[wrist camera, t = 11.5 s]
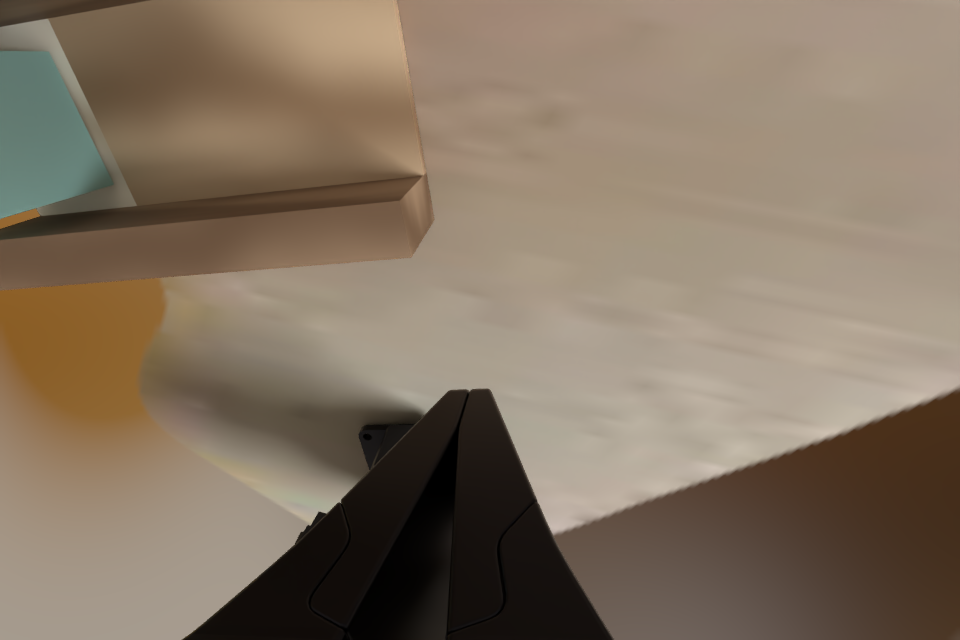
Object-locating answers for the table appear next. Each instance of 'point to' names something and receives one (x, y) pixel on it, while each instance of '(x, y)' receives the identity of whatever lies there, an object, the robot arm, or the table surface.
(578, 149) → the table surface
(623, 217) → the table surface
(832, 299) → the table surface
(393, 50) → the chute
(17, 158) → the teal block
